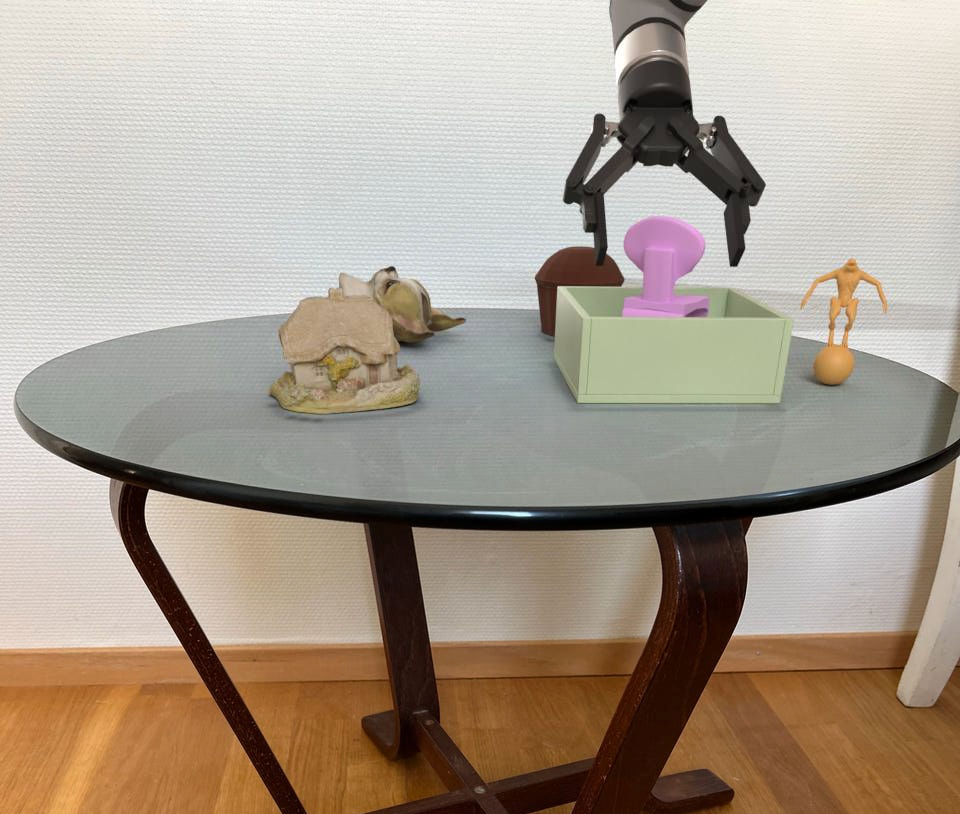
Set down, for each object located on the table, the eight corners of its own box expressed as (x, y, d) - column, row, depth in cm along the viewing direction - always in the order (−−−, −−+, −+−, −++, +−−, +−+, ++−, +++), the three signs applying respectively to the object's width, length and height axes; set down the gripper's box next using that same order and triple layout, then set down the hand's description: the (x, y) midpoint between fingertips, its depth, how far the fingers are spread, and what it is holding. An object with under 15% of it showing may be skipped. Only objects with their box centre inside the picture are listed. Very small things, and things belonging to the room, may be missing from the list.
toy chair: (711, 371, 98) (732, 214, 91) (678, 387, 92) (697, 220, 85) (639, 361, 102) (653, 209, 95) (602, 376, 96) (614, 215, 89)
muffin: (597, 344, 114) (603, 256, 109) (516, 334, 119) (519, 249, 114) (633, 329, 123) (641, 246, 118) (557, 320, 128) (561, 241, 123)
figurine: (788, 385, 97) (809, 260, 91) (788, 372, 102) (808, 254, 96) (873, 392, 95) (900, 264, 89) (869, 378, 100) (895, 257, 94)
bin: (724, 359, 107) (733, 287, 104) (780, 403, 90) (794, 319, 86) (553, 358, 106) (557, 286, 103) (577, 403, 89) (582, 317, 85)
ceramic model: (269, 416, 84) (257, 298, 79) (268, 386, 93) (258, 279, 88) (425, 410, 86) (423, 295, 81) (409, 381, 96) (407, 277, 91)
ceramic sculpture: (361, 253, 117) (471, 269, 112) (361, 325, 121) (467, 343, 117) (316, 264, 108) (433, 281, 104) (317, 340, 113) (430, 360, 108)
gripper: (758, 118, 103) (780, 282, 97) (531, 114, 102) (540, 281, 96) (782, 58, 96) (807, 231, 90) (539, 53, 95) (548, 229, 89)
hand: (669, 257), depth 93 cm, fingers open, 13 cm apart
